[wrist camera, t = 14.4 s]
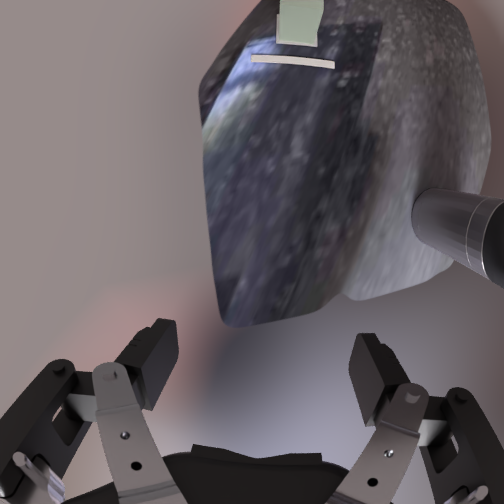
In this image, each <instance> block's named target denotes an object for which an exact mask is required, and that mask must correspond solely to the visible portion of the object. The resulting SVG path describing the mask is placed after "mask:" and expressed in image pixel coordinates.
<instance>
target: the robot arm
mask: <svg viewBox="0 0 504 504" xmlns="http://www.w3.org/2000/svg"><path fill="white" fill-rule="evenodd" d="M412 225H413V229H414V232H415V234H416V236H417V237H418V238H419V240H420V241H422V242H423V243H425V244H426V245H428V246H430V247H432V248H434V249H436V250H438V251H440V252H441V253H443V254H445V255H447V256H449V257H451V258H452V259H454V260H456V261H458V262H460V263H462V264H463V265H465V266H467V267H469V268H470V269H472V270H474V271H475V272H477V273H479V274H481V275H482V276H484V277H486V278H487V279H489V280H491V281H492V282H494V283H495V284H497V285H499V286H501V287H502V288H504V199H499V198H493V197H488V196H483V195H477V194H471V193H465V192H459V191H452V190H446V189H439V188H431V189H428V190H426V191H424V192H423V193H422V194H421V195H420V196H419V197H418V198H417V200H416V202H415V204H414V207H413V211H412ZM178 354H179V347H178V338H177V328H176V322H175V321H174V320H168V319H162V318H158V319H157V320H156V322H155V323H154V324H153V325H152V327H151V328H150V327H146V328H144V329H142V330H140V331H139V332H138V333H137V334H136V335H135V336H134V337H133V340H131V341H130V342H129V344H128V345H127V346H126V347H125V349H124V350H123V351H122V352H121V354H120V355H119V356H118V357H117V359H116V360H115V361H114V362H107V363H103V364H100V365H99V366H97V367H96V368H95V369H94V370H93V372H83V371H76V370H75V367H74V364H73V363H72V362H71V361H69V360H66V359H58V360H55V361H52V362H50V363H49V364H48V365H47V366H46V367H45V368H44V369H43V370H42V371H41V372H40V374H38V376H37V377H36V378H35V379H34V380H33V381H32V382H31V383H30V384H29V386H28V387H27V388H26V389H25V390H24V391H23V393H22V394H21V395H20V396H19V397H18V399H17V400H16V401H15V402H14V403H13V404H12V406H11V407H10V408H9V409H8V410H7V412H6V413H5V414H4V415H3V417H2V418H1V419H0V500H1V501H2V502H3V503H5V504H393V503H392V502H391V500H392V498H393V496H394V495H395V493H396V491H397V489H398V487H399V485H400V483H401V481H402V479H403V477H404V475H405V472H406V470H407V468H408V466H409V463H410V461H411V459H412V456H413V454H414V452H415V449H416V447H417V445H418V446H419V448H420V451H421V454H422V457H423V460H424V464H425V467H426V470H427V474H428V477H429V481H430V484H431V488H432V492H433V496H434V500H435V504H504V450H503V448H502V446H501V444H500V442H499V440H498V438H497V436H496V434H495V432H494V430H493V429H492V427H491V425H490V423H489V421H488V420H487V418H486V416H485V414H484V413H483V411H482V409H481V408H480V406H479V404H478V403H477V401H476V400H475V398H474V396H473V395H472V394H471V393H470V392H469V391H468V390H466V389H464V388H459V387H455V388H452V389H450V390H449V391H448V393H447V394H446V396H445V397H434V396H429V394H428V392H427V391H426V389H424V388H423V387H422V386H420V385H418V384H415V383H411V382H410V380H409V378H408V377H407V375H406V373H405V371H404V369H403V368H402V366H401V365H400V364H399V363H400V362H399V361H398V359H397V358H396V356H395V354H394V352H393V351H392V349H390V348H389V347H388V346H387V345H385V344H381V343H380V341H379V340H378V338H377V336H376V334H375V333H359V334H357V336H356V340H355V343H354V347H353V350H352V354H351V357H350V361H349V375H350V378H351V381H352V384H353V387H354V391H355V394H356V397H357V400H358V403H359V407H360V410H361V413H362V417H363V420H364V424H365V426H366V427H367V426H375V427H376V431H375V432H374V434H373V436H372V437H371V439H370V441H369V443H368V444H367V446H366V447H365V449H364V451H363V452H362V454H361V455H360V457H359V458H358V460H357V461H356V463H355V464H354V466H353V467H352V469H351V470H350V471H349V470H347V469H345V468H343V467H341V466H339V465H336V464H333V463H329V462H325V461H322V455H321V453H298V454H296V453H294V454H293V453H290V454H285V455H279V456H273V457H267V458H252V457H248V456H245V455H242V454H238V453H235V452H232V451H229V450H226V449H221V448H214V447H208V446H202V445H196V444H193V446H192V450H191V452H180V453H175V454H170V455H167V456H164V457H161V455H160V453H159V451H158V449H157V446H156V444H155V442H154V440H153V438H152V436H151V433H150V431H149V428H148V426H147V424H146V421H145V419H144V417H143V414H142V409H146V410H150V411H152V410H153V408H154V406H155V404H156V402H157V400H158V398H159V396H160V394H161V392H162V390H163V388H164V386H165V384H166V382H167V380H168V378H169V376H170V374H171V372H172V370H173V368H174V366H175V364H176V362H177V359H178ZM60 406H61V408H62V409H61V411H60V412H59V413H58V415H57V416H56V418H55V419H54V421H53V422H52V419H53V416H54V414H55V413H56V411H57V410H58V409H59V407H60ZM92 422H97V424H98V428H99V433H100V436H101V441H102V445H103V448H104V452H105V456H106V459H107V462H108V466H109V469H110V472H111V475H112V478H113V482H111V483H109V484H107V485H104V486H102V487H100V488H97V489H95V490H92V491H90V492H87V493H85V494H82V495H80V496H77V497H74V498H71V499H69V500H66V501H64V500H65V495H64V493H65V487H64V484H63V482H62V478H63V476H64V474H65V472H66V470H67V468H68V466H69V464H70V462H71V460H72V458H73V457H74V455H75V453H76V451H77V449H78V447H79V446H80V444H81V442H82V440H83V438H84V436H85V435H86V433H87V431H88V429H89V427H90V426H91V424H92ZM453 435H454V437H455V439H456V441H457V443H458V447H459V451H458V454H457V451H456V449H455V446H454V444H453V442H452V439H451V437H452V436H453Z"/></svg>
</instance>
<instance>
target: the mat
mask: <svg viewBox="0 0 504 504" xmlns="http://www.w3.org/2000/svg"><path fill="white" fill-rule="evenodd" d="M279 26H280V14H277V33H276V43H277V44H293V45H304V46H313V47H317V34H316V37H315V40H314V44H308V43H301V42H293V41H284V40H279Z"/></svg>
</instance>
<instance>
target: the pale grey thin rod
mask: <svg viewBox="0 0 504 504" xmlns="http://www.w3.org/2000/svg"><path fill="white" fill-rule="evenodd" d="M251 62H268V63H287V64H299V65H309V66H318V67H325V68H332V69H334V68H335V66H334V62H333V61H327V60H319V59H311V58H301V57H290V56H273V55H251Z"/></svg>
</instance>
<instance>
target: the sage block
mask: <svg viewBox="0 0 504 504" xmlns="http://www.w3.org/2000/svg"><path fill="white" fill-rule="evenodd" d="M323 9H324V0H280V26H279V40H284V41H293V42H301V43H308V44H314V40H315V37H316V34H317V30H318V27H319V24H320V20H321V17H322V13H323Z"/></svg>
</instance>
